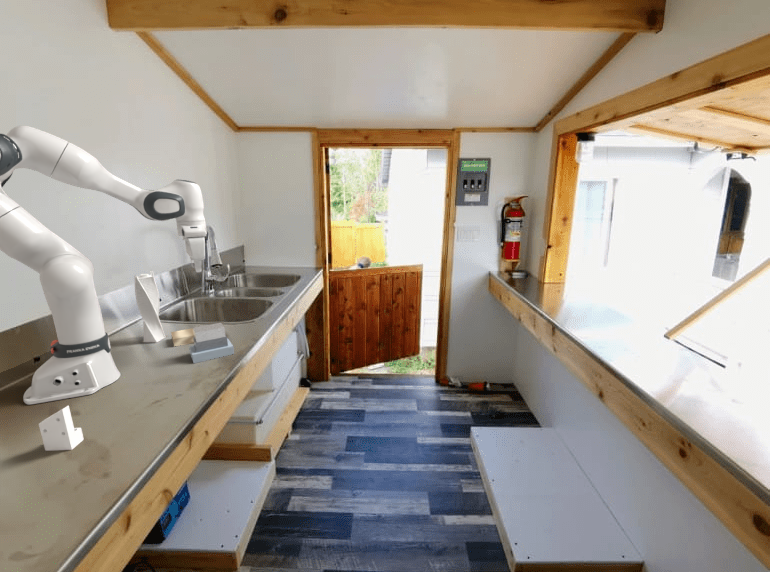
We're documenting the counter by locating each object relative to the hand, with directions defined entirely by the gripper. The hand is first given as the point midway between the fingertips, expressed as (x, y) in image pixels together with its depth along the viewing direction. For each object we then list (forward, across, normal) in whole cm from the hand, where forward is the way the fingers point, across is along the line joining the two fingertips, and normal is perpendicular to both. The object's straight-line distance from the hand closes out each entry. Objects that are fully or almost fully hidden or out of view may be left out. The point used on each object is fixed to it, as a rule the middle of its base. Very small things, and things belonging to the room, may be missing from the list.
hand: (196, 269), depth 133 cm
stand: (+29, +6, +1) cm, 30 cm away
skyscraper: (+30, -21, -15) cm, 40 cm away
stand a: (+29, -14, -3) cm, 33 cm away
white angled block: (+30, +42, -35) cm, 63 cm away
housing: (+26, +6, +1) cm, 27 cm away
